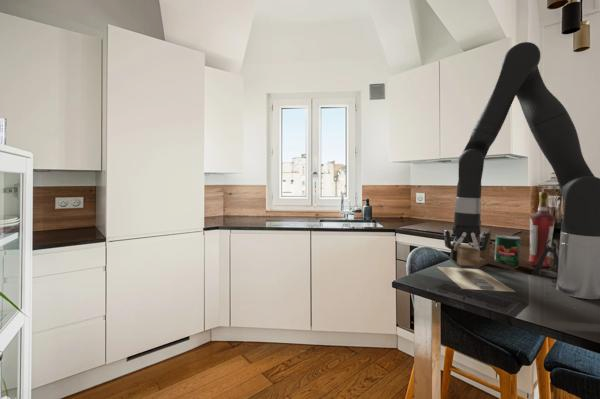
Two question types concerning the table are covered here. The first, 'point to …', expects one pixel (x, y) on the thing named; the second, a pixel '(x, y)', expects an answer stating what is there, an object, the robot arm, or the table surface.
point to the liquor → (540, 231)
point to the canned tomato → (507, 250)
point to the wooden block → (485, 254)
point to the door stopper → (541, 260)
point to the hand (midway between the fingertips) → (464, 261)
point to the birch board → (464, 278)
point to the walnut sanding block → (467, 257)
